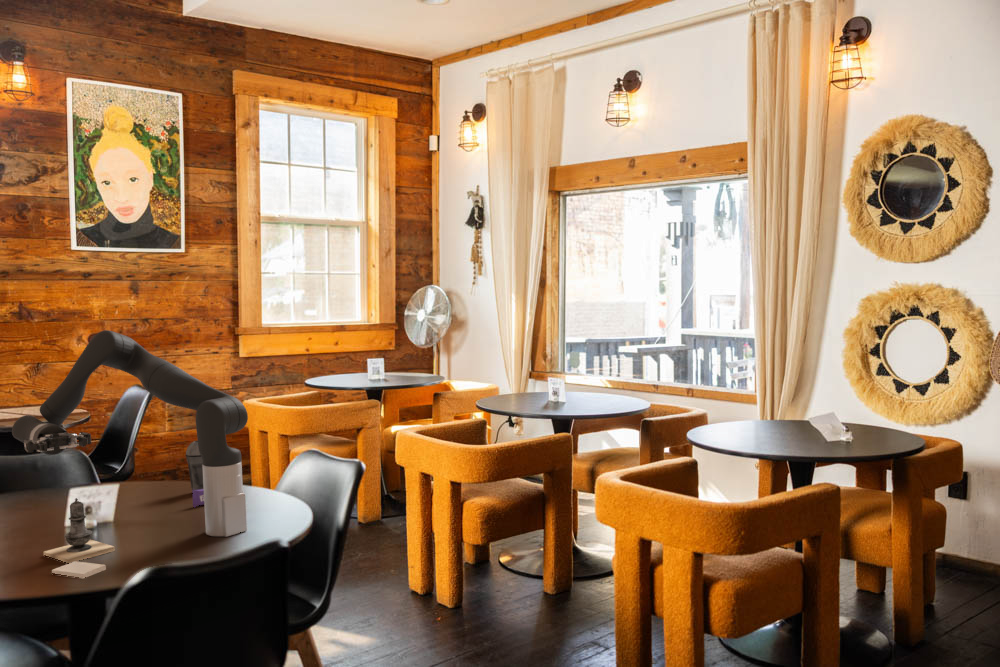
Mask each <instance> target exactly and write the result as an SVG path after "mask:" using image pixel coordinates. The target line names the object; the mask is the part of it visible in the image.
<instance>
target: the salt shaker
mask: <svg viewBox="0 0 1000 667" xmlns="http://www.w3.org/2000/svg"><path fill="white" fill-rule="evenodd" d="M84 509H85V508H84V503H83V502H81V501H79V499H78V498H77V497H75V498H74V501H73V502H72V503H70V505H69V515H70V516H69V517H68V520H69V522H70V523H69V525H70V529H69V531H68V532H67V533H65V534H64V535H63V537H64V538H65V541H66V543H67V545H72V546H71V547H69V548H68V549H67V550H66V551H67V552H72V553H73V552H82V551H86V550H89V549H91V548H92V546H91V545H88V544H86V543H87V542H88V541H89V540H91V537H92V534H93V530H89V529H87V527H86V522H85V521H86V520H85V519H86V518H87V516H86V515H85V510H84Z"/></svg>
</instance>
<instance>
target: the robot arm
mask: <svg viewBox="0 0 1000 667" xmlns="http://www.w3.org/2000/svg"><path fill="white" fill-rule="evenodd" d="M100 366H106V367H108V368H112V369H115V370H119V371H122V372H124V373H127V374H129V375H131V376H133V377H135V378H136V379H138V380H139V382H140V383H141V385H142V387H143V388H144V389H145V390H146V391H147V392H148V393H150V395H153V396H154V397H156V398H157V399H159V400H161V401H162V402H164V403H166V404H169V405H172V406H175V407H179V408H184V409H189V410H192V411H196V413H195V427H196V428H195V430H196V437H197V438H196V439H197V441H198V449H199V453H200V455H201V458H202V464H203V465H202V466H203V487H204V504H203V505H204V506H203V507H204V521H205V522H204V523H205V534H206V535H207V536H211V537H230V536H234V535H237V534H240V532H241V533H243V532H244V533H245V532H246V531H248V526H247V525H248V523H247V522H248V521H247V505H246V503H247V502H246V494H245V492H244V491H243V490H244V489H243V488H244V487H243V486H244V485H243V468H242V467H243V466H242V465H243V464H242V463H243V462H242V453H241V450H240V449H238V448H235V447H231V446H230V445H228V443H227V435H231V434H234V433H238V432H240V431H241V430H242V429H244V428H245V427H246V425H247V423H248V418H249V416H248V411H247V409H246V407H245V405H244V404H243V403H242V402H241V401H240V399H239V398H236V396H235V397H234V396H233V395H231V394H228V393H226V392H223V391H220V390H218V389H217V388H214V387H212V386H210V385H208V384H206V383H205V382H203V381H201V380H200V379H198V378H196V377H195V376H193V375H191V374H189V373H188V372H186V370H185V371H184V370H183V369H182V368H180V367H178V366H176V365H175V364H173V363H171V362H170V361H168V360H166V359H163V358H161V357H160V356H159V357H158V356H156V355H153V354H152V353H151V352H149V351H148V350H147V349H146V348H144V347H143V346H142V345H140V344H139V343H138V342H137V341H136V340H134V339H133V338H131V337H129V336H128V335H125V334H122V333H120V332H117V331H113V330H108V329H105V330H100V331H99V332H98V333H96V334H95V335H94V336H93V337H92V338H91V340H90V341H89V342H88V343H87V345H86V347H85V348H84V350H83V351H82V352H81V354H80V356H79V357H78V358H77V360H76V361H75V363H74V364H73V366H72V367H71V369H70V371H69V373H67V375H66V377H65V378H64V379H63V380H62V382H61V383H60V384H59V385H58V386H57V388H55V390H54V391H53V392H52V393H51V394H50V396H48V397H47V398H46V400H45V401H44V402H42V404H41V405H40V407H39V414H40V415H41V416H42V417H43V418H44V419H45V421H47V422H44V421H42V420H40V419H38V418H37V417H35V416H33V415H31V414H27V415H23V416H20V417H19V418H17V420H16V421H15V422H14V423H13V425H12V428H11V434H12V436H13V438H14V439H16V440H18V441H20V442H21V443H23V445H24V451H26V452H27V453H29V454H30V453H33V452H34V450H35V451H36V452H38V453H39V452H40V453H42V454H45V455H47V456H55V455H59V454H60V453H62V452H64V451H65V450H66V449H67V448H68V449H69V448H70V449H72V448H76V447H78V446H80V447H83V448H84V447H86V446H87V445H90V444H92V434H91V433H89V432H85V431H80V432H79V433H78V434H77V433H75V432H73V433H70V432H68V431H67V430H66V429H65V427H63V426H62V425H63V423H64V422H65V421H66V419H68V417H69V416H70V415H71V414H72V413H73V412H74V411H75V410H76V409H77V407H78V406H79V405H80V404H81V402H82V400H83V398H84V397H85V393H86V387H87V383H88V381H89V378H90V376H91V375H92V374H93V373H94V372H95V371H96V370H97V369H98V368H100Z"/></svg>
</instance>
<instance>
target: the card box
mask: <svg viewBox="0 0 1000 667" xmlns="http://www.w3.org/2000/svg"><path fill="white" fill-rule="evenodd" d="M106 570H107V568H106V564H100V563H94V562H83V561H74V562H72V563H69V564H67V563H65V565H61V566H58V567H56V568H54V569H51V574H52V573H55V574H61V575H67V576H66V577H68V576H74V577H73V578H75V577H79V578H78V579H86V578H88V577H90V576H93V575H96V574H98V573H100V572H103V571H106ZM61 575H60V576H61ZM85 577H86V578H85Z"/></svg>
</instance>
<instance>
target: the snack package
mask: <svg viewBox="0 0 1000 667" xmlns="http://www.w3.org/2000/svg"><path fill="white" fill-rule="evenodd" d="M191 493H193V494H191V495H192V508H193V507H194V508H197V507H199V505H200V506H203V505H204V489H200V490H192V489H191ZM196 506H197V507H196Z"/></svg>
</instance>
